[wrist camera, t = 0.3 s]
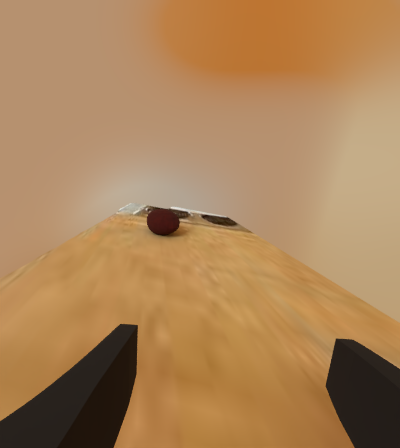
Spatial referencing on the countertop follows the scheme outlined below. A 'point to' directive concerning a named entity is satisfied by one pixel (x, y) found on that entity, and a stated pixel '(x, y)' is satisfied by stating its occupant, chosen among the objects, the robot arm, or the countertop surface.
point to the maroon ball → (162, 221)
